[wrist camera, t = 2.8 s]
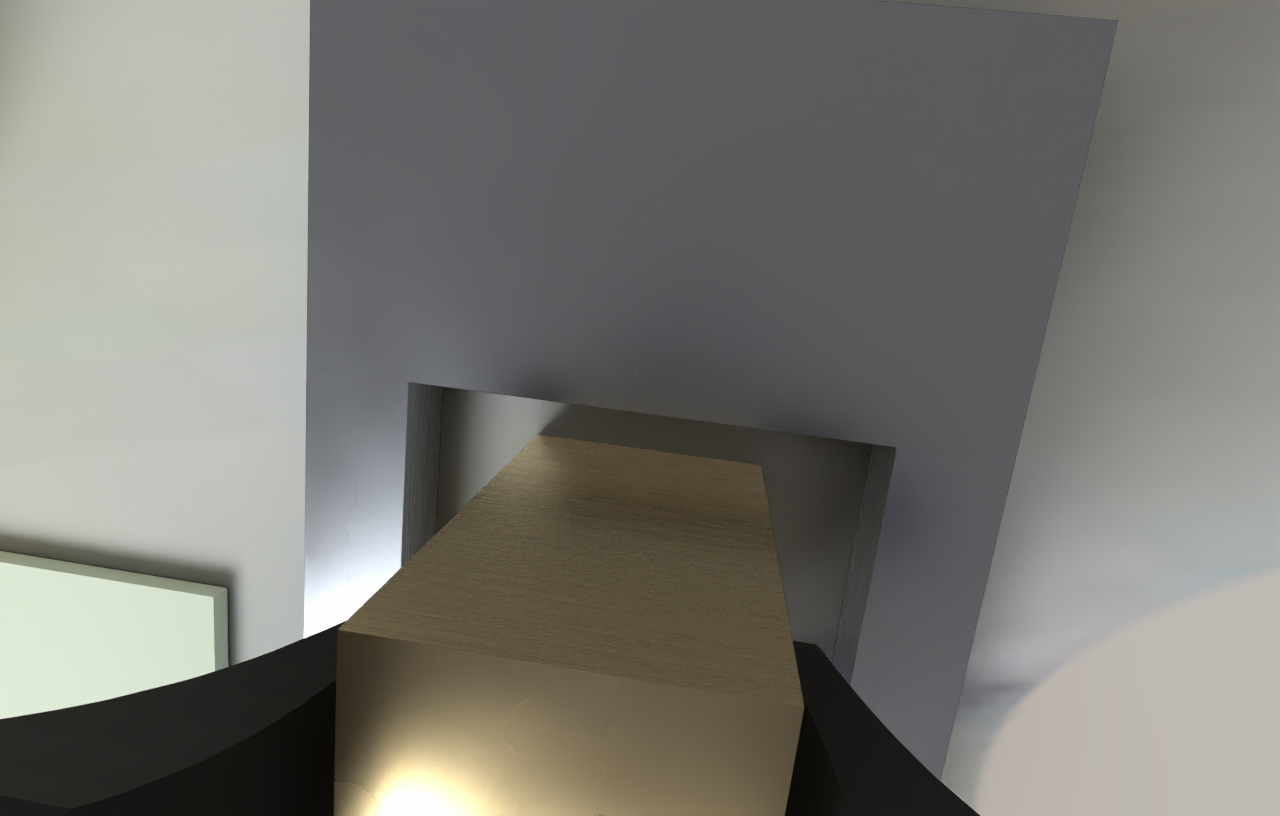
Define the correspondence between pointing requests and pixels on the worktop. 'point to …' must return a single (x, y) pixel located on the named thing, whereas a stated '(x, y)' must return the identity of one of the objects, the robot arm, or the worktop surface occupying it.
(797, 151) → the iron frame
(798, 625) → the worktop surface
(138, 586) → the sage mat
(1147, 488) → the worktop surface
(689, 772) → the tan rectangular block
